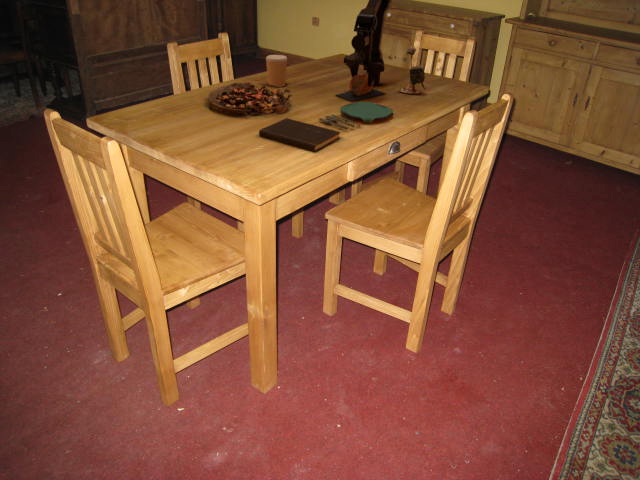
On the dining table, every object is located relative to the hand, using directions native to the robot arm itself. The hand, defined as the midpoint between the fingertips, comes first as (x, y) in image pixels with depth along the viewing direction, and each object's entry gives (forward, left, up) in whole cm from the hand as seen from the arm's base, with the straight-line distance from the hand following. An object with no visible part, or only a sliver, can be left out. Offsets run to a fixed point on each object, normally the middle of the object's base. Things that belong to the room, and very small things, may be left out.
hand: (361, 83), depth 220 cm
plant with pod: (-22, +10, -5) cm, 25 cm away
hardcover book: (+53, +25, -5) cm, 59 cm away
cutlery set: (+22, +21, -5) cm, 31 cm away
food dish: (+47, -16, -5) cm, 50 cm away
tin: (-1, 0, -5) cm, 5 cm away
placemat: (0, 0, -5) cm, 5 cm away
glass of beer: (+21, -33, -5) cm, 39 cm away
